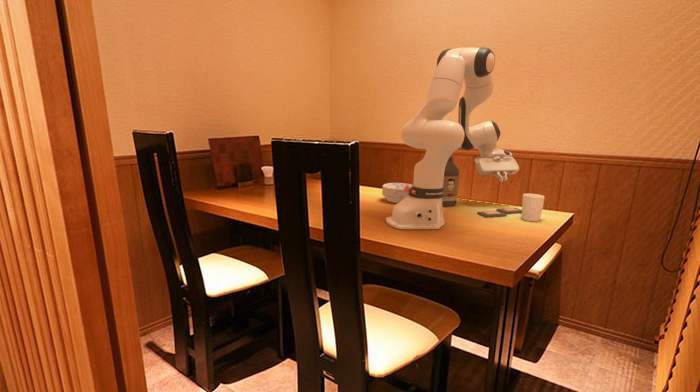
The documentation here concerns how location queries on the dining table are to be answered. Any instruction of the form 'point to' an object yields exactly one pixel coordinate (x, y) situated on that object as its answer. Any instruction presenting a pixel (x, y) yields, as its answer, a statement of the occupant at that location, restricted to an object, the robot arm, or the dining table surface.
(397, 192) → the paper bowls
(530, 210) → the white cup
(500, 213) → the tile left
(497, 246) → the dining table surface
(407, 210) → the robot arm
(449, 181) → the liquor
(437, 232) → the dining table surface
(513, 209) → the tile right
